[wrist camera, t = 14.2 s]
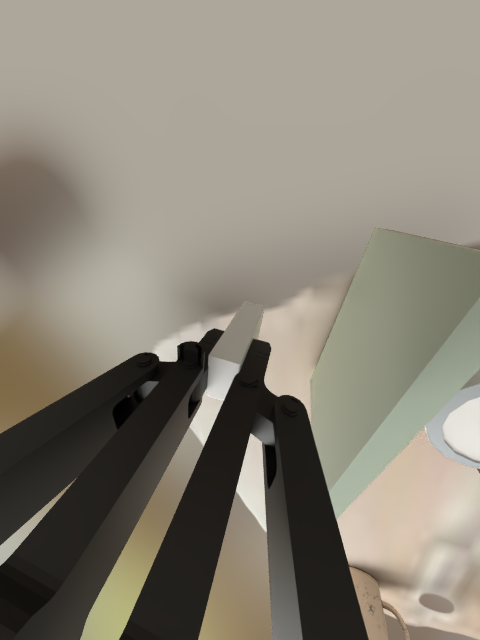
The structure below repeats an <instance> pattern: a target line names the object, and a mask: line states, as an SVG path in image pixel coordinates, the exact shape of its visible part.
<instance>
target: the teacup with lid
mask: <svg viewBox="0 0 480 640" xmlns="http://www.w3.org/2000/svg"><path fill="white" fill-rule="evenodd" d="M349 568H350V572H351V576H352V579H353V583H354V587H355V590H356V594H357V598H358V602H359V605H360V609H361V613H362V616H363V620H364V624H365V627H366V631H367V635H368V638H369V640H389V638H388V633H387V627H386V622H385V617H384V612H383V608H385V609H387V610H389V611H391V612H392V613H393V614H394V615H395V616H396V617H397V619H398V620H399V622H400V624H401V626H402V628H403V631H404V634H405V640H410V637H409V633H408V630H407V628H406V625H405V623H404V621H403V619H402V617H401V616H400V614H399V613H398V612H397V610H396V609H395V608H394V607H393V606H391V605H390V604H388V603H386V602H384V601H381V596H380V591H379V586H378V583H377V581H376V580H375V579H374V578H373V577H372V576H370V575H369V574H367V573H365V572H363V571H361V570H359V569H356V568H353V567H350V566H349Z"/></svg>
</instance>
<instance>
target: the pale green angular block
mask: <svg viewBox="0 0 480 640" xmlns="http://www.w3.org/2000/svg"><path fill="white" fill-rule="evenodd" d="M479 369H480V250H479V249H475V248H470V247H466V246H461V245H456V244H452V243H447V242H443V241H438V240H434V239H428V238H425V237H420V236H415V235H411V234H406V233H402V232H397V231H392V230H386V229H380V228H375V229H374V232H373V234H372V236H371V239H370V241H369V243H368V246H367V248H366V251H365V253H364V255H363V258H362V260H361V262H360V265H359V267H358V269H357V272H356V274H355V276H354V279H353V281H352V283H351V286H350V288H349V291H348V293H347V295H346V298H345V300H344V302H343V305H342V307H341V309H340V312H339V314H338V316H337V319H336V321H335V324H334V326H333V328H332V331H331V333H330V335H329V338H328V340H327V342H326V345H325V347H324V350H323V352H322V354H321V357H320V359H319V361H318V364H317V366H316V368H315V371H314V373H313V375H312V378H311V380H310V390H311V429H312V432H313V436H314V440H315V443H316V447H317V451H318V454H319V458H320V462H321V465H322V469H323V473H324V477H325V480H326V484H327V488H328V491H329V495H330V499H331V502H332V506H333V510H334V513H335V517H336V519H337V518H338V517H339V516H340V515H341V514H342V513H343V512H344V511H345V510H346V509H347V508H348V507H349V505H350V504H351V503H352V502H353V501H354V500H355V499H356V498H357V497H358V496H359V495H360V494H361V493H362V492H363V491H364V490H365V489H366V488H367V487H368V486H369V485H370V483H371V482H372V481H373V480H374V479H375V478H376V477H377V476H378V475H379V474H380V473H381V472H382V471H383V470H384V469H385V468H386V467H387V466H388V465H389V464H390V462H391V461H392V460H393V459H394V458H395V457H396V456H397V455H398V454H399V453H400V452H401V451H402V450H403V449H404V448H405V447H406V446H407V445H408V444H409V443H410V442H411V440H412V439H413V438H414V437H415V436H416V435H417V434H418V433H419V432H420V431H421V430H422V429H423V428H424V427H425V426H426V425H427V424H428V423H429V422H430V421H431V420H432V418H433V417H434V416H435V415H436V414H437V413H438V412H439V411H440V410H441V409H442V408H443V407H444V406H445V405H446V404H447V403H448V402H449V401H450V400H451V399H452V397H453V396H454V395H455V394H456V393H457V392H458V391H459V390H460V389H461V388H462V387H463V386H464V385H465V384H466V383H467V382H468V381H469V380H470V379H471V378H472V377H473V375H474V374H475V373H476V372H477V371H478V370H479Z"/></svg>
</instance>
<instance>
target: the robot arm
mask: <svg viewBox="0 0 480 640" xmlns="http://www.w3.org/2000/svg"><path fill="white" fill-rule="evenodd" d="M264 308H265V306H263V305H259V304H254V303H250V302H246V301H245V302H244V303H243V305H242V306H241V308H240V309H239V311H238V312H237V314H236V315H235V317H234V318H233V320H232V321H231V323H230V324H229V326H228V327H227V329H226V330H225V331H222V330H218V329H212V330H210V331H208V332H207V333H206V334H205V336H204V337H203V338H202V339H201V341H200V342H199V343H198V342H193V341H190V342H184V343H181V344H180V345H178V346H177V350H178V360H177V361H176V362H161V361H159V357H158V356H157V355H156V354H153V353H147V352H145V353H140V354H137V355H135V356H133V357H132V358H130V359H128V360H126V361H125V362H123V363H121V364H120V365H118V366H116V367H114V368H113V369H111V370H109V371H107V372H106V373H104V374H102V375H100V376H99V377H97V378H96V379H94V380H92V381H90V382H88V383H87V384H85V385H83V386H82V387H80V388H78V389H76V390H75V391H73V392H71V393H70V394H68V395H66V396H64V397H63V398H61V399H60V400H58V401H56V402H54V403H52V404H51V405H49V406H47V407H45V408H44V409H42V410H40V411H39V412H37V413H35V414H33V415H32V416H30V417H28V418H27V419H25V420H23V421H21V422H20V423H18V424H16V425H15V426H13V427H11V428H9V429H8V430H6V431H4V432H3V433H1V434H0V545H1V544H2V543H4V542H5V541H6V540H7V539H8V538H9V537H10V536H11V535H12V534H14V533H15V532H16V531H17V530H18V529H19V528H20V527H22V526H23V525H24V524H25V523H26V522H27V521H28V520H30V518H32V517H33V516H34V515H35V514H36V513H37V512H38V511H40V510H41V509H42V508H43V507H44V506H45V505H46V504H48V503H49V502H50V501H51V500H52V499H53V498H54V497H56V496H57V495H58V494H59V493H60V492H61V491H62V490H63V489H64V488H66V487H67V486H68V485H69V484H70V483H71V482H72V481H74V480H75V479H76V478H77V477H78V478H77V479H76V480H75V481H74V482H73V483H72V485H71V486H70V487H69V488H68V489H67V490H66V492H65V493H64V494H63V495H62V496H61V498H60V499H59V500H58V501H57V502H56V504H55V505H54V506H53V507H52V508H51V509H50V510H49V512H48V513H47V514H46V515H45V516H44V517H43V519H42V520H41V521H40V522H39V523H38V525H37V526H36V527H35V528H34V529H33V530H32V532H31V533H30V534H29V535H28V537H27V538H26V539H25V540H24V541H23V542H22V543H21V545H20V546H19V547H18V548H17V549H16V550H15V552H14V553H13V554H12V555H11V556H10V557H9V558H8V559H7V560H6V561H5V562H4V563H3V564H2V565H1V566H0V640H80V638H81V636H82V632H83V629H84V625H85V622H86V619H87V617H88V614H89V612H90V610H91V608H92V606H93V604H94V602H95V601H96V599H97V597H98V595H99V593H100V591H101V589H102V587H103V586H104V584H105V582H106V580H107V578H108V576H109V575H110V573H111V571H112V569H113V567H114V565H115V563H116V562H117V560H118V557H119V556H120V554H121V552H122V550H123V548H124V547H125V544H126V543H127V541H128V539H129V537H130V535H131V534H132V531H133V530H134V528H135V526H136V524H137V522H138V521H139V519H140V517H141V515H142V513H143V511H144V509H145V508H146V506H147V504H148V502H149V500H150V498H151V496H152V494H153V492H154V491H155V489H156V487H157V485H158V483H159V481H160V480H161V478H162V476H163V474H164V472H165V470H166V468H167V467H168V465H169V463H170V461H171V459H172V457H173V455H174V454H175V452H176V450H177V447H178V446H179V444H180V442H181V441H182V439H183V437H184V435H185V433H186V431H187V429H188V427H189V426H190V424H191V422H192V420H193V418H194V416H195V414H196V413H197V411H198V409H199V407H200V405H201V402H202V396H203V394H204V392H205V390H206V396H209V397H212V398H215V399H217V400H220V401H223V404H222V406H221V409H220V411H219V413H218V415H217V418H216V420H215V422H214V425H213V427H212V429H211V432H210V434H209V436H208V438H207V441H206V443H205V445H204V448H203V450H202V453H201V455H200V457H199V459H198V461H197V464H196V466H195V469H194V471H193V473H192V475H191V478H190V480H189V482H188V484H187V487H186V489H185V491H184V494H183V496H182V499H181V501H180V503H179V505H178V508H177V510H176V513H175V514H174V517H173V519H172V521H171V524H170V526H169V528H168V530H167V533H166V535H165V537H164V540H163V542H162V544H161V547H160V549H159V551H158V553H157V556H156V558H155V560H154V563H153V565H152V567H151V570H150V572H149V574H148V576H147V579H146V581H145V584H144V586H143V588H142V590H141V593H140V595H139V597H138V599H137V602H136V604H135V606H134V609H133V611H132V613H131V616H130V618H129V620H128V623H127V625H126V627H125V629H124V631H123V633H122V635H121V637H120V639H119V640H198V637H199V633H200V630H201V626H202V622H203V618H204V614H205V610H206V606H207V602H208V598H209V594H210V590H211V586H212V582H213V578H214V574H215V570H216V566H217V562H218V558H219V555H220V551H221V547H222V542H223V538H224V535H225V531H226V527H227V523H228V519H229V515H230V511H231V507H232V503H233V499H234V495H235V491H236V487H237V484H238V480H239V476H240V472H241V468H242V464H243V460H244V456H245V452H246V448H247V444H248V440H249V436H250V433H251V434H253V435H254V436H255V437H256V438H258V439H259V440H260V441H262V448H263V467H264V486H265V505H266V524H267V540H268V541H267V543H268V562H269V582H270V600H271V619H272V637H273V640H369V638H368V635H367V631H366V627H365V624H364V620H363V616H362V613H361V609H360V605H359V602H358V598H357V594H356V590H355V587H354V583H353V579H352V576H351V572H350V568H349V565H348V561H347V557H346V554H345V550H344V546H343V543H342V539H341V535H340V532H339V528H338V524H337V521H336V517H335V513H334V510H333V506H332V502H331V499H330V495H329V491H328V488H327V484H326V480H325V477H324V473H323V469H322V465H321V462H320V458H319V454H318V451H317V447H316V443H315V440H314V436H313V432H312V429H311V425H310V421H309V418H308V414H307V410H306V408H305V406H304V404H303V403H302V402H301V401H300V400H298V399H297V398H295V397H293V396H289V395H282V396H280V397H277V396H276V395H274V394H273V393H271V392H270V391H269V390H268V389H267V388H266V386H265V384H264V376H265V372H266V368H267V364H268V360H269V356H270V352H271V347H270V344H269V343H268V342H264V341H260V340H257V339H258V336H259V331H260V327H261V322H262V318H263V313H264Z"/></svg>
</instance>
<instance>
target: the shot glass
mask: <svg viewBox="0 0 480 640" xmlns="http://www.w3.org/2000/svg"><path fill="white" fill-rule="evenodd" d="M424 430H425V433H426V435H427V438H428V440H429V442H430V443H431V444H432V445H433V446H434V447H435V448H436V449H437V450H438V451H439V452H440V453H441V454H442V455H444V456H446V457H448V458H450V459H452V460H454V461H456V462H458V463H461V464H463V465H465V466H468V467H473V468H477V469H480V369H479V370H478V371H477V372H476V373H475V374H474V375H473V377H472V378H471V379H470V380H469V381H468V382H467V383H466V384H465V385H464V386H463V387H462V388H461V389H460V390H459V391H458V392H457V393H456V394H455V395H454V396H453V397H452V399H451V400H450V401H449V402H448V403H447V404H446V405H445V406H444V407H443V408H442V409H441V410H440V411H439V412H438V413H437V414H436V415H435V416H434V417H433V418H432V420H431V421H430V422H429V423H428V424H427V425H426V426H425V427H424Z"/></svg>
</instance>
